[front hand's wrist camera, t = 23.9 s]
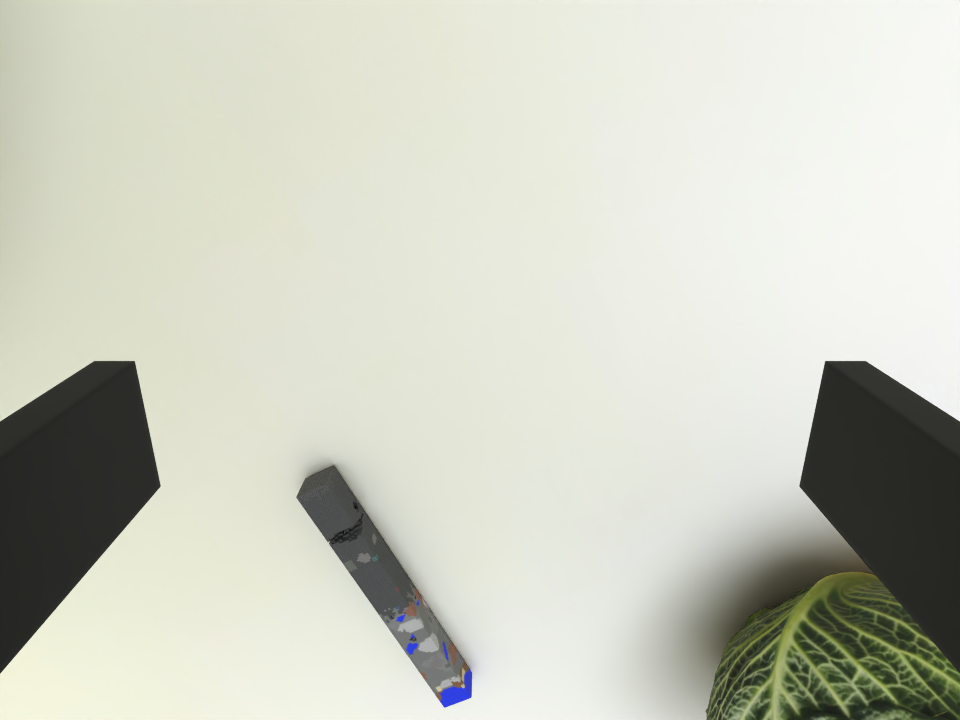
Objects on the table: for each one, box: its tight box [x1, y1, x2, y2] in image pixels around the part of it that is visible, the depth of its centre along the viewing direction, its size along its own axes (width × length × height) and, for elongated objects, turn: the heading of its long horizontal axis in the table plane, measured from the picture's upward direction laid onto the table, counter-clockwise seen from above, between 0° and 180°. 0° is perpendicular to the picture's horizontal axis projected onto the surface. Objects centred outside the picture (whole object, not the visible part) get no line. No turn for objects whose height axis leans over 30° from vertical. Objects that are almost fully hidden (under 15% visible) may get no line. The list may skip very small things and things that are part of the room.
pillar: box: [296, 466, 472, 707], centre depth 44 cm, size 2×2×20 cm
